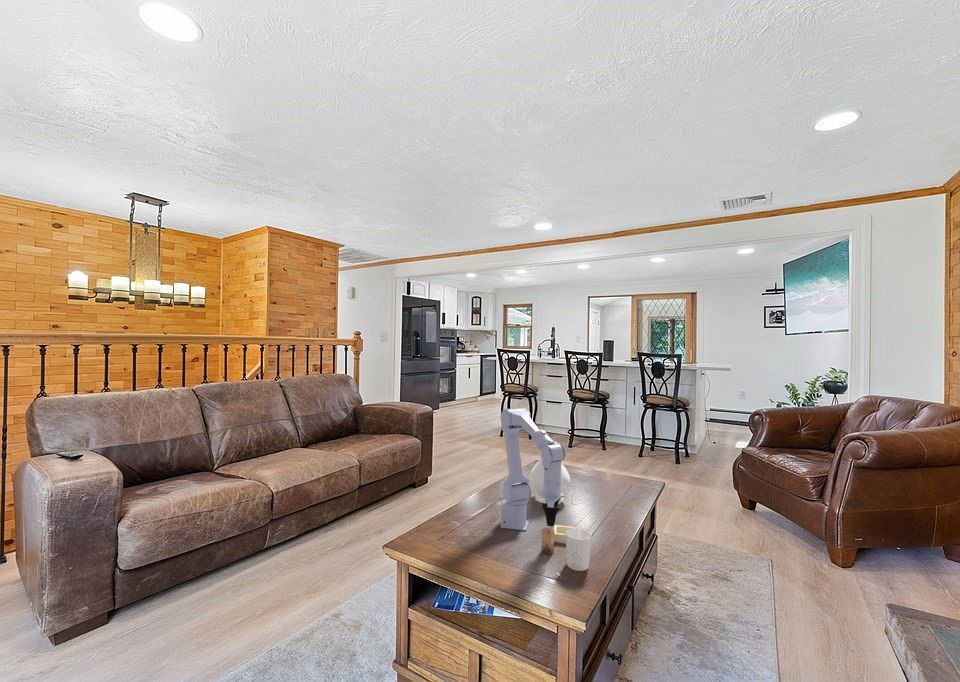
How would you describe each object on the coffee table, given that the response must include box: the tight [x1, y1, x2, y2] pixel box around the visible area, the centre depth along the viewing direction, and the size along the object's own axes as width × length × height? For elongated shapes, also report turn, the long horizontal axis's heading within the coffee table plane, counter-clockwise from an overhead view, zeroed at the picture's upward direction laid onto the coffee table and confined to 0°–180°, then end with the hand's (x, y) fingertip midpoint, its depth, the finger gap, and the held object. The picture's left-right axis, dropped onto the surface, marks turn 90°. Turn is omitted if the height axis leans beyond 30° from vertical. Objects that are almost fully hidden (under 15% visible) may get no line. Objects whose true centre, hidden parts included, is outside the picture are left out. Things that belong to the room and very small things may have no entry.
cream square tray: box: [553, 524, 576, 545], centre depth 153 cm, size 8×8×3 cm
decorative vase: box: [528, 441, 571, 505], centre depth 190 cm, size 18×18×25 cm
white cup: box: [565, 527, 592, 572], centre depth 135 cm, size 8×8×10 cm
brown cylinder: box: [541, 527, 555, 556], centre depth 143 cm, size 4×4×7 cm
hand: (551, 521), depth 144 cm, fingers open, 7 cm apart
